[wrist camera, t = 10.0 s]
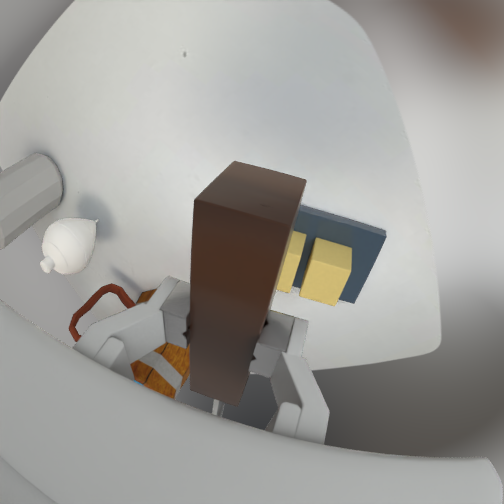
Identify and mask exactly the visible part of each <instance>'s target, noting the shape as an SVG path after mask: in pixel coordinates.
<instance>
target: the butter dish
mask: <svg viewBox="0 0 504 504" xmlns="http://www.w3.org/2000/svg"><path fill="white" fill-rule="evenodd" d="M293 231H296V232H300V233H303V234H306V239H305V243H304V247H303V251H302V255H301V258H300V262H299V265H298V268H297V271H296V274H295V278H294V281H293V284H292V286H294V287H298V288H301V285H302V281H303V276H304V272H305V269H306V266H307V263H308V260H309V257H310V254H311V251H312V248H313V245H314V242H315V239H316V237H317V238H320V239H324V240H327V241H330V242H334V243H337V244H340V245H344V246H347V247H350V248H352V262H351V273H350V275H349V277H348V280H347V282H346V284H345V286H344V288H343V290H342V293H341V295H340V297H339V300H343V301H346V302H350V303H353V304H354V303H355V301H356V299H357V297H358V295H359V293H360V291H361V289H362V287H363V285H364V283H365V281H366V279H367V277H368V275H369V273H370V271H371V269H372V267H373V265H374V263H375V261H376V259H377V256H378V254H379V252H380V250H381V248H382V246H383V243H384V241H385V239H386V237H387V236H386V231H385V230H382V229H379V228H376V227H373V226H369V225H366V224H363V223H360V222H357V221H354V220H350V219H347V218H344V217H340V216H337V215H334V214H330V213H327V212H324V211H320V210H317V209H313V208H310V207H306V206H303V205H300V208H299V212H298V215H297V219H296V223H295V226H294V230H293Z"/></svg>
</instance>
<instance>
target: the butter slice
mask: <svg viewBox="0 0 504 504" xmlns="http://www.w3.org/2000/svg"><path fill="white" fill-rule="evenodd" d="M351 262H352V248H350V247H347V246H344V245H340V244H337V243H334V242H330V241H327V240H324V239H320V238H317V237H316V239H315V242H314V245H313V248H312V251H311V254H310V257H309V260H308V263H307V266H306V269H305V272H304V276H303V281H302V285H301V289H300V293H299V296H300V297H304V298H307V299H311V300H314V301H318V302H321V303H325V304H328V305H332V306H335V305H336V303H337V301H338V299H339V297H340V295H341V293H342V290H343V288H344V286H345V284H346V282H347V280H348V277H349V275H350V273H351Z"/></svg>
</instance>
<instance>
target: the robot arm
mask: <svg viewBox="0 0 504 504" xmlns="http://www.w3.org/2000/svg"><path fill="white" fill-rule="evenodd" d="M308 324H309V323H308V321H307V320H304V319H300V318H297V317H295V318H294V316H290V315H287V314H283V313H280V312H276V311H273V310H269V311H268V314H267V317H266V320H265V324H264V327H263V329H262V332H261V334H259V337H258V340H257V343H256V346H255V349H254V353H253V357H252V360H251V363H250V367H249V370H248V371H250V372H253V373H256V374H259V375H262V376H265V377H268V378H270V381H271V385H272V388H273V392H274V395H275V398H276V402H277V405H278V409H277V411H276V413H275V414H274V416H273V417H272V419H271V421H270V422H269V424H268V425H267V427H266V429H265V431H264V430H261V429H257V428H254V427H250V426H247V425H244V424H241V423H237V422H234V421H231V420H228V419H225V418H222V417H219V416H217V415H214V414H211V413H208V412H205V411H203V410H200V409H197V408H195V407H192V406H189V405H187V404H184V403H182V402H179V401H177V400H175V399H172V398H170V397H167V396H165V395H163V394H160V393H158V392H156V391H154V390H151V389H149V388H147V387H145V386H143V385H141V384H138V383H136V382H134V379H135V378H134V375H133V372H132V369H131V366H130V364H131V363H133V362H134V361H136V360H138V359H140V358H141V357H143V356H145V355H146V354H148V353H150V352H151V351H153V350H155V349H156V348H158V347H160V346H161V345H163V344H165V343H166V342H168V343H171V344H174V345H176V346H179V347H182V348H185V349H187V347H188V345H189V343H190V330H189V325H190V283H187V282H184V281H181V280H178V279H176V278H173V277H170V276H168V277H166V278H165V279H164V281H163V282H162V283H161V285H160V286H159V287H158V289H157V290H156V291H155V293H154V294H153V295H152V297H151V298H150V299H149V301H148V302H147V304H144V303H141V304H139V305H137V306H134V307H132V308H129V309H127V310H124V311H122V312H120V313H117V314H115V315H112V316H110V317H108V318H105V319H103V320H100V321H98V322H95V323H93V324H91V325H90V326H89V327H88V329H87V330H86V331H85V332H84V334H83V335H82V336H81V337H80V339H79V340H78V341H77V343H76V344H75V345H74V347H73V348H71V347H69V346H68V345H66V344H64V343H63V342H61V341H60V340H58V339H56V338H55V337H53V336H52V335H50V334H49V333H47V332H45V331H44V330H42V329H41V328H39V327H38V326H36V325H35V324H33V323H32V322H31V321H29V320H28V319H26V318H25V317H24V316H22V315H21V314H19V313H18V312H17V311H15V310H14V309H13V308H11V307H10V306H9V305H7V304H6V303H5V302H3V301H2V300H1V299H0V504H502V500H503V489H502V488H503V487H502V482H501V480H500V478H499V476H498V474H497V472H496V470H495V469H494V467H493V465H492V464H491V463H490V461H489V460H488V459H487V458H485V457H464V458H463V457H461V458H442V457H441V458H440V457H439V458H437V457H416V456H415V457H414V456H401V455H390V454H381V453H372V452H365V451H358V450H350V449H345V448H339V447H333V446H328V445H324V440H325V435H326V429H327V424H328V418H329V412H330V411H329V409H328V407H327V405H326V403H325V400H324V398H323V396H322V394H321V392H320V389H319V387H318V385H317V383H316V380H315V378H314V376H313V374H312V372H311V369H310V367H309V365H308V363H307V361H306V358H303V357H302V353H303V348H304V343H305V339H306V334H307V329H308Z"/></svg>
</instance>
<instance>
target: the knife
mask: <svg viewBox="0 0 504 504" xmlns="http://www.w3.org/2000/svg"><path fill="white" fill-rule="evenodd" d="M306 182H307V181H306V180H305V179H302V178H299V177H295V176H291V175H288V174H284V173H280V172H277V171H273V170H269V169H265V168H261V167H257V166H253V165H249V164H245V163H241V162H237V161H233V162H232V163H231V164H230V165H229V166H228V167H227V168H226V169H225V170H224V171H223V172H222V173H221V174H220V175H219V176H218V177H217V178H216V179H215V180H214V181H213V182H211V183H210V184H209V185H208V186H207V187H206V188H205V189H204V190H203V191H202V192H201V193H200V194H199V195H198V196H197V197H196V198H195V200H194V210H193V227H192V248H191V274H190V325H189V330H190V343H189V357H190V390H192V391H194V392H197V393H200V394H202V395H205V396H207V397H210V398H213V399H214V404H213V411H212V414H214V415H217V416H219V417H222V413H223V408H224V404H225V403H227V404H230V405H233V406H238V405H239V402H240V399H241V397H242V394H243V391H244V388H245V385H246V383H247V380H248V377H249V374H250V371H248V370H249V367H250V363H251V360H252V357H253V353H254V349H255V346H256V343H257V340H258V337H259V334H261V332H262V329H263V327H264V324H265V320H266V317H267V314H268V311H269V310H270V309H271V305H272V302H273V299H274V295H275V292H276V289H277V285H278V282H279V279H280V275H281V272H282V268H283V265H284V261H285V258H286V254H287V251H288V247H289V244H290V240H291V237H292V233H293V230H294V226H295V223H296V219H297V215H298V212H299V208H300V204H301V201H302V197H303V193H304V189H305V186H306Z"/></svg>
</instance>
